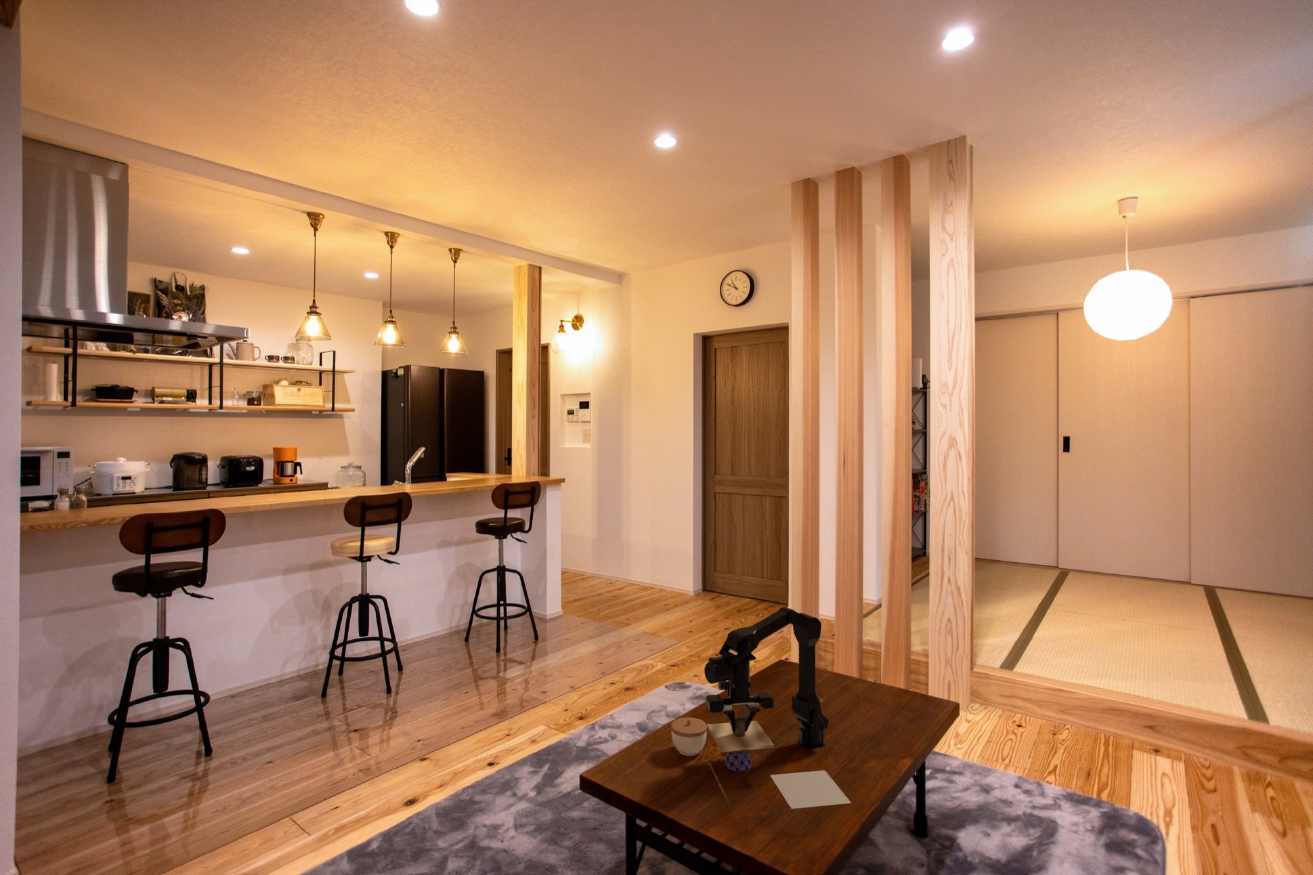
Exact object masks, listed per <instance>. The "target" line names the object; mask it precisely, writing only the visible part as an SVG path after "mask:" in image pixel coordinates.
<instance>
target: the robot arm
mask: <svg viewBox="0 0 1313 875" xmlns="http://www.w3.org/2000/svg"><path fill="white" fill-rule="evenodd" d="M789 625H791V626H792V630H793V635H794V637H795V638H796V641H797V643H798V691H797V693H796V694H795V695H792V696H791V706H790V707H791V708H790V709H791V710H792V713H793V714H794V715H795V718H796V721H798V722H800V727H799V728H798V742H799V744H801V745H802V747H804V748H805V749H817V748H826V747H827V745H825V742H824V741H825V740H824V738H825V737H824V736H825V734H824V732H825V729H828V726H829V724H830V721H829V719H828V718H827V717H826V716H825V715H824V714H823V712H822V705H821V701H820V698H819V697H818V695H817V694H818V693H817V692H816V691H817V690H816V645H817V644H818V641H820V638H821V636H822V635H821V633H822V621H821V620H820V619H819V617H818V618H817V617H815V616H813V615H810V614H806V613H803V612H797V611H796V610H794V609H792V608H790V607H788V606H782V607H780V608H779V610H777V611H775V612H773V613H772V614H770V615H768V616H767V617H765V618H763V619H761V620H760V621H758V622H756V623H755V624H752V625H750V626H746V627H745V626H744V627H739V628H736V629H732V630H731V631H729V633H727V637H726V639H725V641H724V642H723V644H722V646H721V648H720V650H719V651H718V655H719V656H715V657H714V656H711V657H709V658H708V661H707V663H706V664H705V667H704V669H703V670H704V672H703V673H704V677H705V680H706V681H707V682H708V683H709V685H710V684H711V685H713V684H718V685H717V687H718V690H719V691H724V693H725V694H726V696H727V697H728V698H727V697H726V698H722V696H720V694H708V695H707V696H706V697H705V699H704V700H705V702H704V703H705V706H706V708H707V709H708V711H709V712H710V713H711V714H713V713H715V714H716V713H723V715H726V716H727V719H728V723H730V726H731V729H732V732H733V733H734V732H735V717H736V715H735V714H736V712H735V710H734V709H733V706H743V705H744V716H743V717H744V718H745V732H747V730H748V728H749V725H750V723H751V721H753V720H754V717H755V716H756V714H758V713H760V712H761V710H760V708H759V705H760V706H761V708H763V709H764V710H769V709H774V708H775V700H774V698H773V696H771V695H770V693H769V692H768V691H766V690H765V691H764V690H763V691H755V692H754V694H753V695H754V696H753V695H752V696H750V694H751V692H750V691H751V690H750V689H751V688H752V683H751V682H750V681H751V679H750V678H751V677H750V676H751V674H750V673H751V672H750V671H751V670H750V669H751V666H750V665H751V664H750V663H751V661H756V660H757V657H756V656H754V654H752V653H753V652H754V651H755V650H756V649H757V648H758V647H759V644H760V643H761V642H762V641H763V640H765V639H766V638H768V637H770V636H773V635H774V634H775V633H777V632H778V631H780V630H782V629H784V628H785V627H787V626H789ZM731 651H732V652H731ZM733 652H734V653H733ZM735 653H736V654H735Z"/></svg>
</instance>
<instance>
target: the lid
mask: <svg viewBox="0 0 1313 875" xmlns="http://www.w3.org/2000/svg"><path fill="white" fill-rule="evenodd" d="M744 717H745V716H742V715H735V732H734V733H733V732H732V729H731V726H730V723H729V722H723V723H712V724H711V723H710V724H709V723H708V724H707V723H706V725H707V730H708V731H709V732H710V734H711V737H712V739H713V740H714V741H715V743H716V746H717V748H718V750H719V751H720V753H725V752H726V753H727V752H729V751H741V750H748V751H750V750H762V749H763V750H764V749H765V750H766V749H774V748H775V745H774V743H773V742H772V740H771V739H770V737H769V736H768V735H767V734H766V732H765V731H764V728H762V726H761V725H760V723H759V722H758V721H757V720H752V721H751V723H750V725H749V728H748V730H747V732H745V718H744Z"/></svg>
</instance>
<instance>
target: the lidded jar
mask: <svg viewBox="0 0 1313 875" xmlns="http://www.w3.org/2000/svg"><path fill="white" fill-rule="evenodd" d="M670 729H671V731H670V732H671V740H672V744H673V747H675V749H676V750H677V751H678V753H679V754H681V755H682V756H685V755H686V757H693V756H697V755H698V754H699V753H700V751H702V749H703V748H704V746H705V744H706V740H707V733H708V732H707V730H708V728H707V723H706V722H705V721H704V720H702V719H701V718H700V719H699V718H696V717H681V718H678V719H675V720H673V721H672V722H671V724H670Z"/></svg>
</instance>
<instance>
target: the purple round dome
mask: <svg viewBox="0 0 1313 875" xmlns="http://www.w3.org/2000/svg"><path fill="white" fill-rule="evenodd" d="M749 751H750V750H741V751H729V752H726V755H725V759H724V767H727V769H728V770H730V771H734V772H736V773H737V772H738V773H739V772H740V773H741V772H748V771H749V769H752V767H753V765H752V760H751V755H750V752H749Z"/></svg>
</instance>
